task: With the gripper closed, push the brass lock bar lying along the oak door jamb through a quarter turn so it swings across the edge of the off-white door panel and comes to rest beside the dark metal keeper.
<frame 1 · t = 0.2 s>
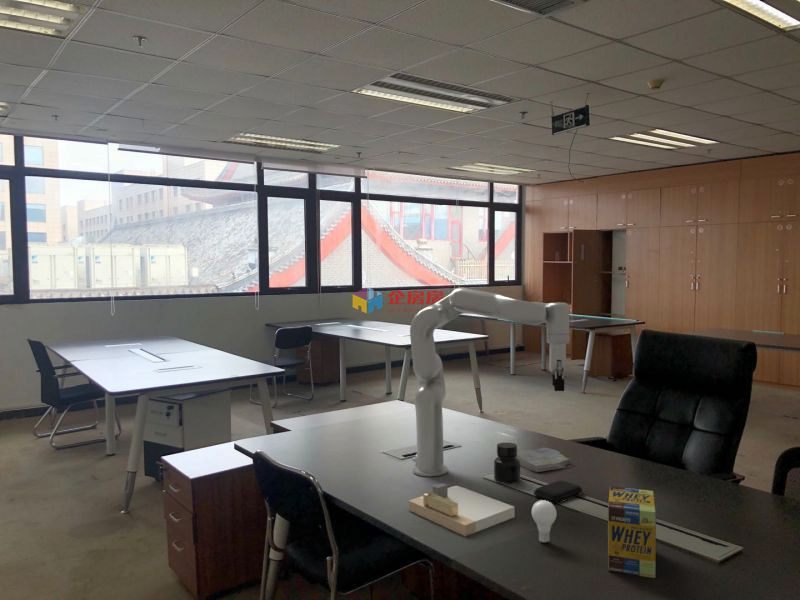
hand: (558, 388, 205), 31 cm above the table, tool pointing down, fingers open, 9 cm apart
lock bar: (439, 503, 171), point 5 cm above the table, hinge at 0.0°
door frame: (458, 514, 176), on the table
lightbulb: (544, 543, 156), on the table
protein box: (631, 561, 146), on the table
fossil: (542, 464, 223), on the table
carrying case or bag: (559, 497, 190), on the table
ink bottle: (507, 480, 205), on the table
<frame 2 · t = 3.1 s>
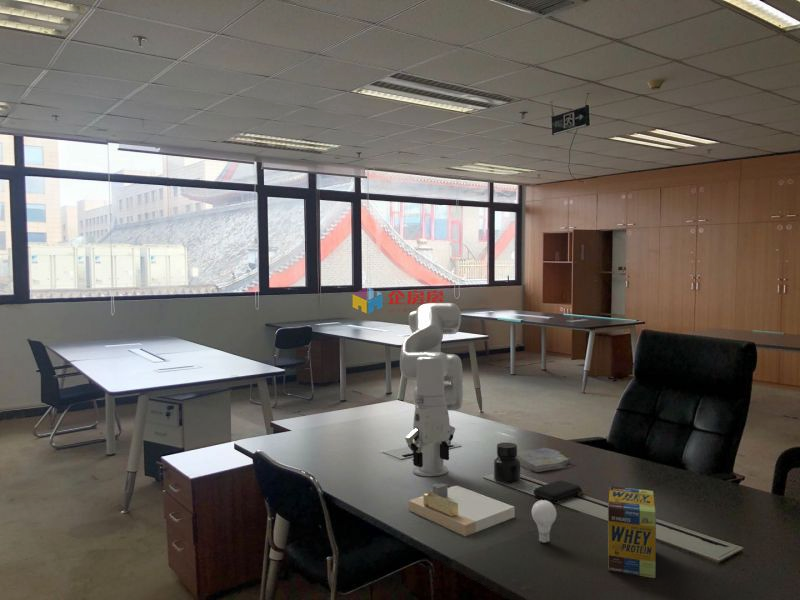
hand: (431, 462, 165), 19 cm above the table, tool pointing down, fingers open, 9 cm apart
nothing on the table moved.
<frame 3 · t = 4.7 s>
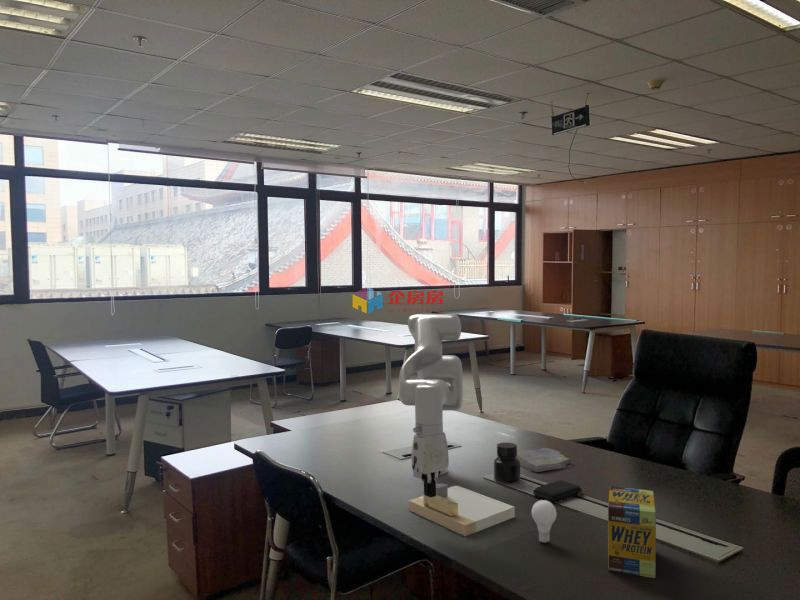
hand: (429, 495, 164), 10 cm above the table, tool pointing down, fingers closed
nothing on the table moved.
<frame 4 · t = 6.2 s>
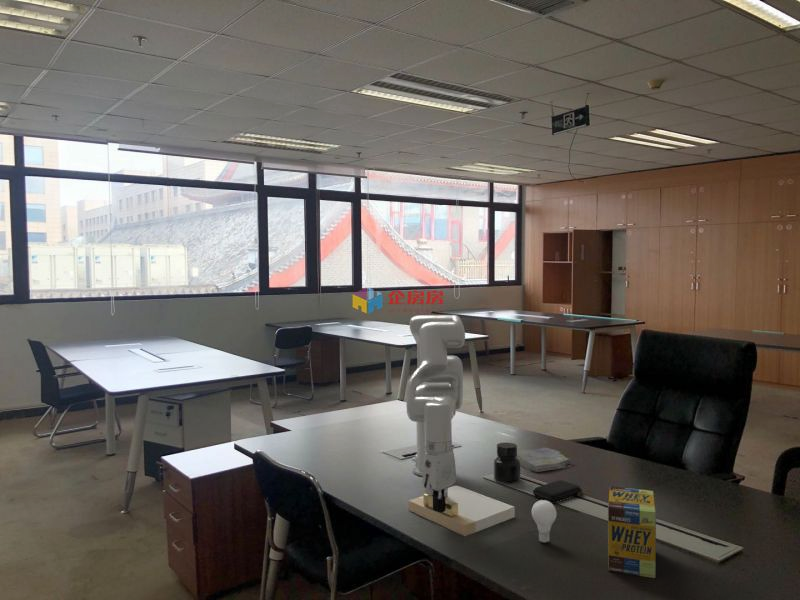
hand: (439, 510, 167), 4 cm above the table, tool pointing down, fingers closed
lock bar: (439, 503, 171), point 5 cm above the table, hinge at 0.1°, touching gripper
everything else where it was.
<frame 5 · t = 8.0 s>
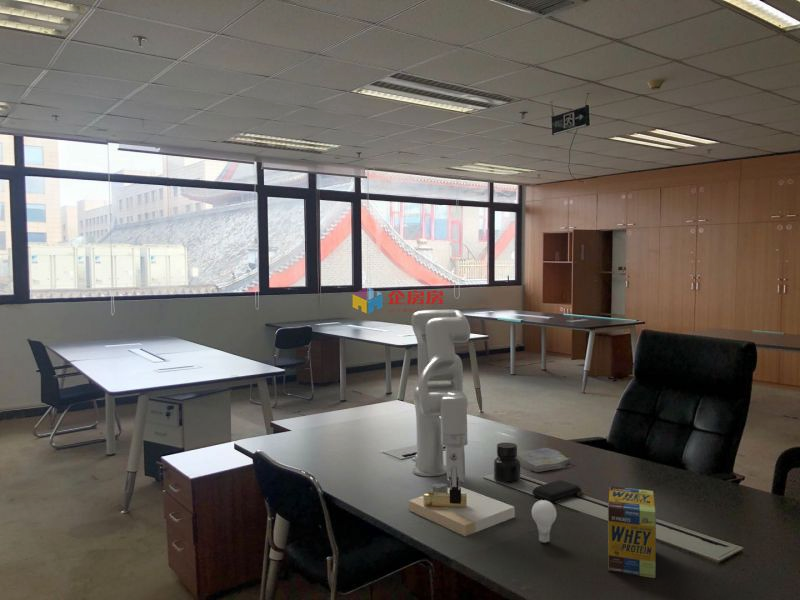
hand: (455, 502, 171), 5 cm above the table, tool pointing down, fingers closed
lock bar: (444, 499, 174), point 5 cm above the table, hinge at 43.8°, touching gripper
everything else where it was.
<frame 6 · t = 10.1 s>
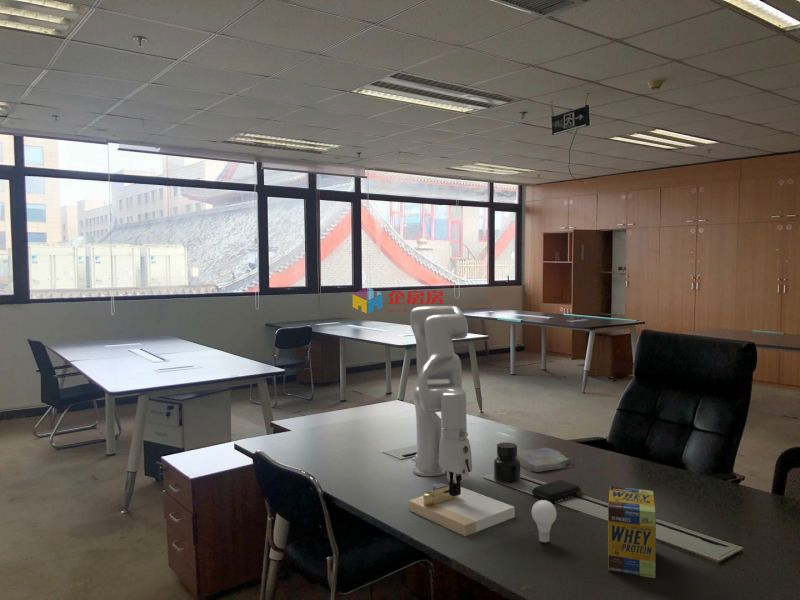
hand: (455, 494, 177), 5 cm above the table, tool pointing down, fingers closed
lock bar: (440, 495, 178), point 5 cm above the table, hinge at 89.3°
everything else where it was.
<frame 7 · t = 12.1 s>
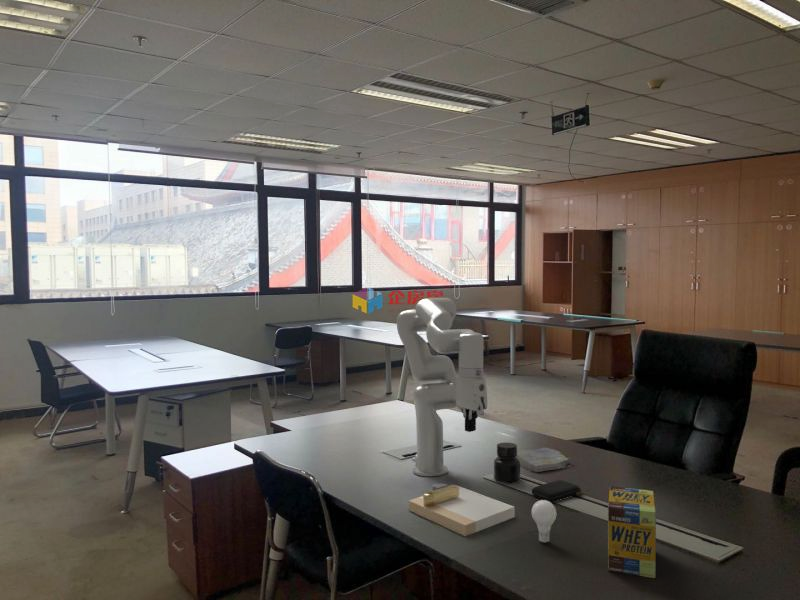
hand: (470, 430, 186), 22 cm above the table, tool pointing down, fingers closed
nothing on the table moved.
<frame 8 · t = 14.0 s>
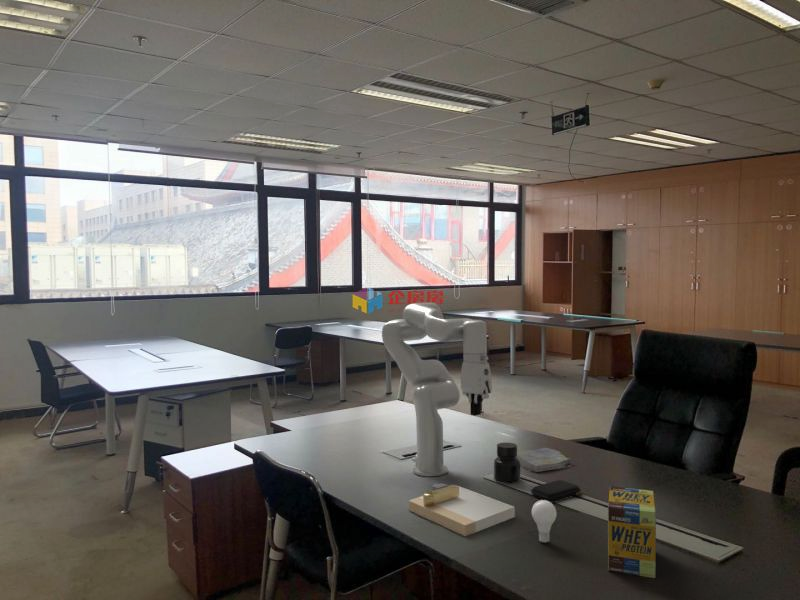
hand: (475, 414, 194), 25 cm above the table, tool pointing down, fingers closed
nothing on the table moved.
at the end: lock bar at +89° (first picture: +0°) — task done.
